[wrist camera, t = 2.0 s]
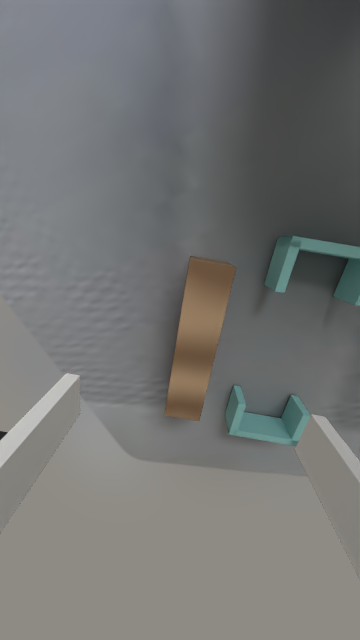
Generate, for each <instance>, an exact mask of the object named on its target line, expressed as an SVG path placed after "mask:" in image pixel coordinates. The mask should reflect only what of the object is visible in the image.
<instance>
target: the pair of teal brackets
mask: <svg viewBox="0 0 360 640" xmlns="http://www.w3.org/2000/svg"><path fill="white" fill-rule="evenodd" d="M299 250H302V251H307V252H313V253H319V254H325V255H331V256H337V257H343V258H349V260H348V262H347V265H346V267H345V269H344V272H343V274H342V276H341V279H340V281H339V283H338V286H337V288H336V290H335V293H334V295H333V297H336V298H338V299H341V300H343V301H346V302H348V303H351V304H354V305H358V306H360V247H356V246H351V245H345V244H339V243H333V242H327V241H321V240H315V239H309V238H303V237H297V236H283V237H278V240H277V243H276V246H275V250H274V253H273V256H272V260H271V263H270V266H269V270H268V273H267V276H266V279H265V283H264V285H265V286H267V287H268V288H270V289H272V290H273V291H275V292H281V293H285V290H286V287H287V284H288V281H289V278H290V275H291V272H292V269H293V266H294V263H295V260H296V257H297V254H298V251H299ZM245 407H246V402H245V399H244V396H243V393H242V390H241V387H240V386H236V385H234V386H233V389H232V392H231V396H230V399H229V402H228V406H227V409H226V412H225V416H226V422H227V428H228V433H229V435H235V436H241V437H246V438H252V439H258V440H264V441H269V442H275V443H281V444H286V445H292V446H297V443H298V441H299V439H300V437H301V435H302V433H303V431H304V429H305V427H306V425H307V423H308V420H309V418H310V416H311V415H310V414H309V412H308V411H307V409H306V408H305V406H304V405H303V403H302V402H301V400H300V399H299V397H298V396H294V395H291V396H290V398H289V401H288V403H287V405H286V408H285V410H284V413H283V415H282V417H281V418H276V417H270V416H264V415H259V414H253V413H247V412H244V410H245Z"/></svg>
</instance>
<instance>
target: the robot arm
mask: <svg viewBox="0 0 360 640" xmlns="http://www.w3.org/2000/svg"><path fill="white" fill-rule="evenodd" d="M79 415H80V376H79V375H73V374H67V373H66V374H65V375H64V376H63V377H62V378H61V379H60V380H59V381H58V382H57V383H56V384H55V385H54V387H52V388H51V390H49V392H48V393H47V394H46V395H45V396H44V397H43V398H42V399H41V400H40V401H39V402H38V403H37V404H36V405H35V406H34V407H33V408H32V409H31V410H30V411H29V412H28V413H27V414H26V415H25V416H24V417H23V418H22V419H21V420H20V421H19V422H18V423H17V424H16V425H15V426H14V427H13V428H12V429H11V430H10V431H9V432H2V431H0V534H1V532H2V530H3V529H4V528H5V526H6V525H7V523H8V522H9V520H10V518H11V517H12V515H13V514H14V513H15V511H16V509H17V508H18V506H19V505H20V504H21V502H22V501H23V499H24V498H25V496H26V494H27V493H28V491H29V490H30V489H31V487H32V486H33V484H34V483H35V481H36V479H37V478H38V476H39V475H40V473H41V472H42V470H43V469H44V467H45V466H46V464H47V463H48V461H49V460H50V458H51V457H52V455H53V454H54V452H55V451H56V449H57V448H58V446H59V445H60V443H61V442H62V440H63V439H64V437H65V436H66V434H67V433H68V431H69V430H70V428H71V427H72V425H73V424H74V422H75V421H76V419H77V418H78V416H79ZM295 452H296V454H297V456H298V458H299V460H300V462H301V464H302V466H303V468H304V470H305V472H306V474H307V476H308V478H309V479H310V481H311V484H312V486H313V487H314V489H315V491H316V493H317V495H318V497H319V499H320V501H321V503H322V505H323V507H324V509H325V511H326V513H327V515H328V517H329V519H330V521H331V523H332V525H333V527H334V529H335V531H336V533H337V535H338V537H339V539H340V541H341V543H342V545H343V547H344V549H345V551H346V553H347V555H348V557H349V559H350V561H351V563H352V565H353V567H354V569H355V571H356V573H357V575H358V577H359V579H360V461H359V460H358V459H357V457H356V456H355V455H354V454H353V452H352V451H351V450H350V448H349V447H348V446H347V445H346V443H345V442H344V441H343V439H342V438H341V437H340V436H339V434H338V433H337V432H336V430H335V429H334V428H333V427H332V425H331V424H330V423H329V421H328V420H327V419H326V417H324V416H318V415H312V414H311V416H310V418H309V420H308V423H307V425H306V427H305V429H304V431H303V433H302V435H301V437H300V439H299V442H298V444H297V446H296V448H295Z"/></svg>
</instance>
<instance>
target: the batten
mask: <svg viewBox="0 0 360 640" xmlns="http://www.w3.org/2000/svg"><path fill="white" fill-rule="evenodd" d="M235 271H236V267H234V266H232V265H231V264H229V263H227V262H223V261H217V260H211V259H204V258H198V257H192V256H191V257H190V261H189V267H188V273H187V279H186V285H185V292H184V298H183V304H182V310H181V316H180V322H179V328H178V335H177V341H176V347H175V353H174V359H173V365H172V371H171V378H170V384H169V390H168V396H167V402H166V408H165V414H164V415H165V416H171V417H177V418H183V419H189V420H195V421H199V420H200V416H201V412H202V408H203V404H204V399H205V395H206V391H207V387H208V383H209V379H210V375H211V370H212V366H213V362H214V358H215V354H216V350H217V346H218V341H219V337H220V333H221V329H222V325H223V321H224V317H225V312H226V308H227V304H228V300H229V296H230V292H231V288H232V283H233V279H234V275H235Z"/></svg>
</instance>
